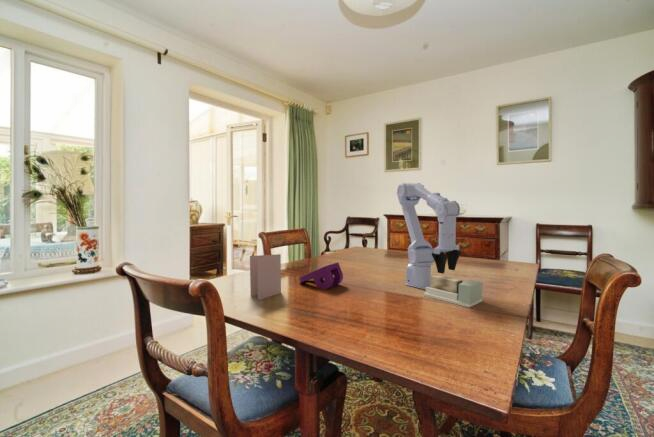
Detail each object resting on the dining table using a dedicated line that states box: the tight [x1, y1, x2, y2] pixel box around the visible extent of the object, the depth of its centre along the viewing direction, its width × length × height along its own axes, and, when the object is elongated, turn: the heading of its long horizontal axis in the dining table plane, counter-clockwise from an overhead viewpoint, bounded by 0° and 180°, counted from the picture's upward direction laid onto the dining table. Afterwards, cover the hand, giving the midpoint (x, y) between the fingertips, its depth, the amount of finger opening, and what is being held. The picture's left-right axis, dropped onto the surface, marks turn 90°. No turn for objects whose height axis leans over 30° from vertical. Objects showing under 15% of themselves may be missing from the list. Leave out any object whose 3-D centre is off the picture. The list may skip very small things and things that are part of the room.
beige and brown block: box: [430, 274, 464, 294], centre depth 116 cm, size 10×4×6 cm, turn 41°
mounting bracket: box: [298, 262, 344, 290], centre depth 134 cm, size 10×8×18 cm
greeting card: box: [249, 253, 282, 301], centre depth 117 cm, size 11×7×15 cm, turn 108°
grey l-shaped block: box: [423, 279, 483, 308], centre depth 114 cm, size 17×10×7 cm, turn 41°
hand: (446, 271), depth 116 cm, fingers open, 7 cm apart
